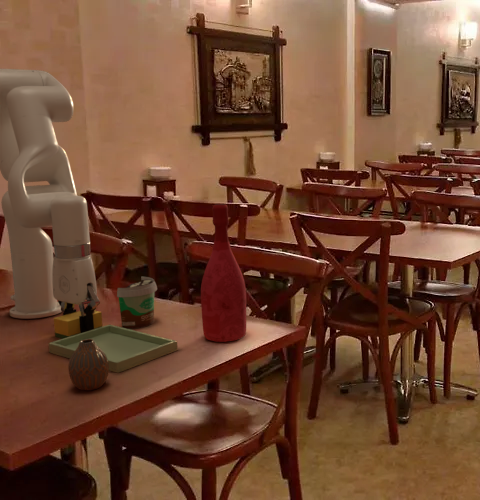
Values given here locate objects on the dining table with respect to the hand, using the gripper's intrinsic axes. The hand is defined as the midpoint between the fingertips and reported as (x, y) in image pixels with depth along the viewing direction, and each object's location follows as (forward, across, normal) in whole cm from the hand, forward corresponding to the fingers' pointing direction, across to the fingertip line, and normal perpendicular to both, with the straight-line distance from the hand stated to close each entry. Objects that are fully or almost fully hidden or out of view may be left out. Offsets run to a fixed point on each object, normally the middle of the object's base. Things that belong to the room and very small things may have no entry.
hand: (79, 329), depth 160 cm
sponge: (+1, 0, 0) cm, 1 cm away
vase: (+2, +29, -19) cm, 34 cm away
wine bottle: (+1, +30, +16) cm, 34 cm away
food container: (+1, +7, +13) cm, 15 cm away
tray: (+1, +17, -4) cm, 17 cm away
